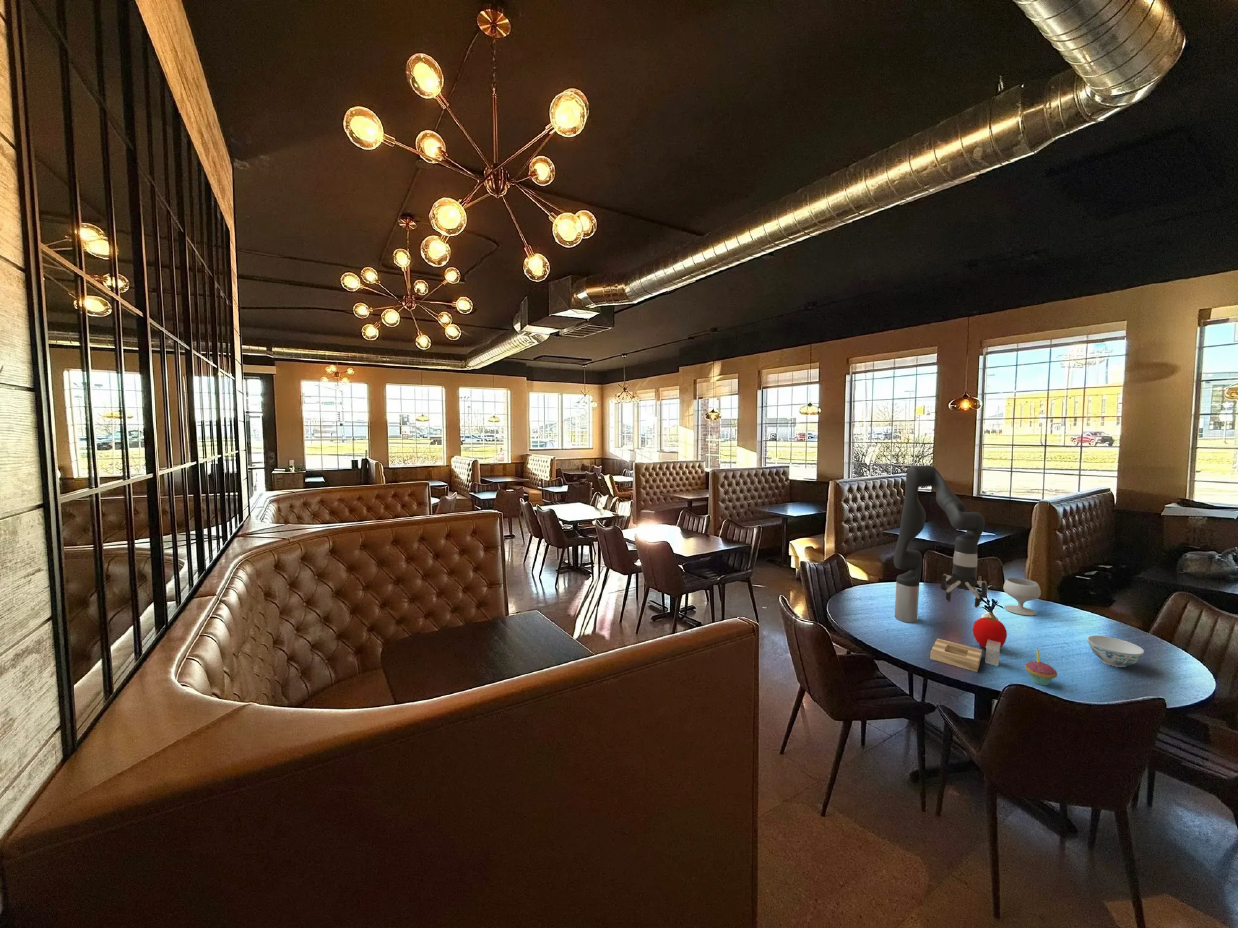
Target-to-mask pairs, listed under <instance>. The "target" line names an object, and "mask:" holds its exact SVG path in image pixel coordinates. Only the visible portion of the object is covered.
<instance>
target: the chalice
mask: <svg viewBox="0 0 1238 928" xmlns="http://www.w3.org/2000/svg"><path fill="white" fill-rule="evenodd" d="M1002 589H1003V591H1004V592H1005V594H1007V595H1008V596H1010V597H1011V598H1013V599H1014V600H1015V601H1016V602H1017V605H1014V604H1013V605H1009V604H1007V605H1005V606H1004V609H1005V610H1006V611H1008V612H1010V613H1013V614H1017V615H1021V616H1028V617H1029V616H1030V617H1032V616H1036V615H1037V612H1036V611H1035V610H1033V609H1031V608H1028V607H1024V604H1025V603H1026V602H1030V601H1034V600H1038V599H1039V598H1040V597H1041V594H1042V591H1041V587H1040V585H1039V584H1038V582H1037V581H1033V580H1030V579H1027V578H1021V577H1008V578H1007V579H1006V580H1005V581H1004V584H1003V588H1002Z"/></svg>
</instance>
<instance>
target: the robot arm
mask: <svg viewBox="0 0 1238 928" xmlns="http://www.w3.org/2000/svg"><path fill="white" fill-rule="evenodd" d="M921 487H923V488H924V487H931V488H933V489H934V490H935V491H936V492H935V493H936V494H935V500H936V504H937V505H938V506H939V507H940V508H941V509H942V511H944V512H945V514H946V516H947V518H948V520H949V523H950V525H951V526H952V528H954V529H955V530H957V531H961V532H965V531H966V532H965V533H964V534H961V535H958V536H956V537H955V541H954V553H953V559H952V574H951V575H949V574H946V573H944V574H942V577H941V585H940V589H941V590H943V591H945V592H946V593H945V600H947V602H948V603H950V602H951V601H952V591H953V590H954V589H955V588H957V589H959V590H964V591H970V592H971V594H973V595H974V608H977V609H978V607H980V606H981V599H986V598H987V595H988V594H987V593H988V592H987V588H988V587H987V586H988V585H987V581H986V580H982V581H981V580H978V578H977V572H978V545H979V541H980V538H981V536H982V534H983V531H984V529H985V526H986V525H985V524H986V523H985V522H986V521H985V517H984V516H983V515H982V514H981V513H980V512H978V511H966V510H967V507H966V504H965V503H964V502H963V501H962V500H960V498H959V497H958V496H957V495H955V493H954V492H953V491H952V490H951V489H950V487H949V486H948V484H947V482H946V481H945V480H944V478H943V476H942V475H941V473H940V472H939V471H938V469H937V468H936V467H934V466H933V465H912V466H909V468H907V471H906V476H905V492H904V500H903V508H902V512H901V517H900V518H901V519H900V525H899V533H898V538H897V542H896V546H895V549H894V554H893V565H894V567H895V568H896V569H898V570H905V571H906V570H907V571H906V572H904V573H902V574H898V575H897V576H896V580H895V583H896V585H895V601H894V618H895V619H896V620H897V621H900V622H903V623H917V622H918V612H919V597H920V595H919V594H920V582H921V577H922V576H921V574H922V567H923V557H922V556H923V555H922V553H921V552H920V551H919V550H916V549H908V548H909V547H908V546H909V545H910V543H911V542H912V541H913V540H915V538H916V537H918V535H920V534H921V532H922V531H923V530H924V528H925V523H926V518H927V514H926V511H925V508H924V506H923V505H922V503H921V502H920V500H919V499H920V498H919V495H918V493H919V492H918V491H919V488H921ZM949 580H951V582H952V584H950V586H948V587H947V581H949ZM977 585H978V586H979V587H980V588H981V593H980V592H979V590H978V589H977V588H976V587H975V586H977Z"/></svg>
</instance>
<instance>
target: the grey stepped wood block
mask: <svg viewBox="0 0 1238 928" xmlns="http://www.w3.org/2000/svg"><path fill="white" fill-rule="evenodd" d="M1000 645H1001V643H1000V642H996V641H992V640H987V644H986V648H985V659H984V663H985V664H988V665H991V666H995V667H999V663H1000V654H1001V653H1000V652H1001V648H1000Z"/></svg>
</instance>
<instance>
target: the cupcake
mask: <svg viewBox="0 0 1238 928" xmlns="http://www.w3.org/2000/svg"><path fill="white" fill-rule="evenodd" d="M1035 651H1036V660H1031V661H1028V662H1026V663H1025V667H1024V669H1025V670H1026V672H1027V673H1028V676H1029V679H1030V681H1031V682H1033V683H1034V684H1036V685H1039V686H1049V684H1050V682H1051V681H1052V679H1055V678H1057V676H1058V672H1057V671H1056V669H1055V668H1054V667H1053V666H1051V665H1050V664H1048V663H1045V662H1042V661H1040V652H1039V651H1040V650H1039V649H1038V647H1036V649H1035Z"/></svg>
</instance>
